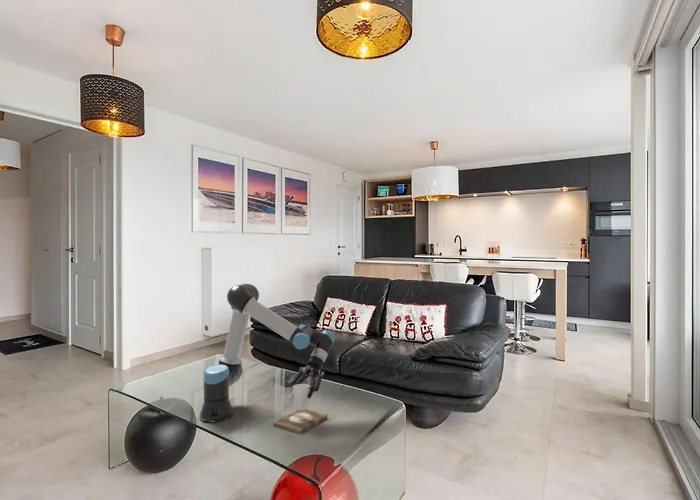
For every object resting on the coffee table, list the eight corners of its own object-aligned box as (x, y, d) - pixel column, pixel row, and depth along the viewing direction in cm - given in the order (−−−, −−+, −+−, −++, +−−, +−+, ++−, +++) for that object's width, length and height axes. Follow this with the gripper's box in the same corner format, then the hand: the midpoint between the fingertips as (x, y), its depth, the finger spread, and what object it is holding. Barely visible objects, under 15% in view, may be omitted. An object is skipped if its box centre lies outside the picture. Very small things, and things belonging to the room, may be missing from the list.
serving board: (300, 433, 166) (300, 430, 166) (273, 425, 174) (273, 422, 174) (327, 417, 183) (327, 414, 183) (301, 411, 191) (301, 407, 191)
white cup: (310, 404, 183) (310, 383, 183) (309, 410, 175) (309, 388, 175) (294, 404, 182) (293, 383, 183) (292, 411, 175) (291, 389, 175)
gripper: (337, 365, 187) (318, 410, 173) (304, 360, 198) (284, 402, 183) (331, 357, 182) (310, 402, 168) (298, 352, 193) (276, 394, 179)
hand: (296, 402), depth 176 cm, fingers closed on white cup, 8 cm apart
